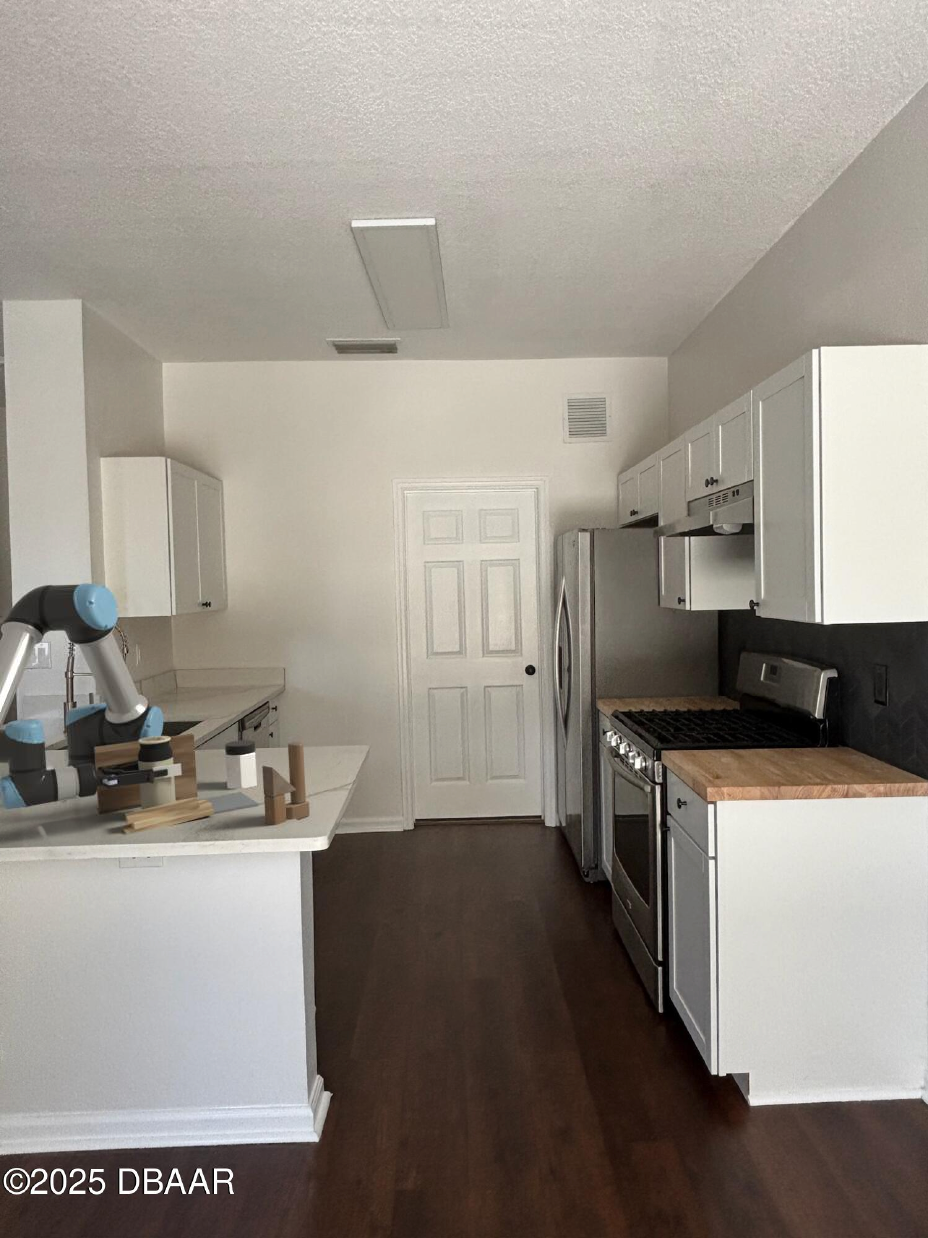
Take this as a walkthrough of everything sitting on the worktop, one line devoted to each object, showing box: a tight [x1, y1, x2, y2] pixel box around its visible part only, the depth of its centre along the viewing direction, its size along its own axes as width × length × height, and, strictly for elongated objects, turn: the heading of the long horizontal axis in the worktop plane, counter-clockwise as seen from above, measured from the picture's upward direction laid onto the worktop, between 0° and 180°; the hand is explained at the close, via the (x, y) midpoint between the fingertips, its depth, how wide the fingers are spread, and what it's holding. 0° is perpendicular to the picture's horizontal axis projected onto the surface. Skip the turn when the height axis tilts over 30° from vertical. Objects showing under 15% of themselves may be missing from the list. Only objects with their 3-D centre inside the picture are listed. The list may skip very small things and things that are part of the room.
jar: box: [224, 739, 258, 790], centre depth 231 cm, size 9×8×12 cm
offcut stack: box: [121, 797, 215, 835], centre depth 197 cm, size 6×20×4 cm, turn 123°
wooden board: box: [94, 733, 198, 815], centre depth 214 cm, size 4×24×17 cm, turn 123°
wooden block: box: [261, 741, 311, 826], centre depth 197 cm, size 4×11×18 cm, turn 143°
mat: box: [197, 791, 259, 816], centre depth 211 cm, size 14×14×1 cm
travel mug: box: [138, 735, 177, 810], centre depth 204 cm, size 8×8×18 cm
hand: (176, 765), depth 206 cm, fingers closed on travel mug, 8 cm apart
